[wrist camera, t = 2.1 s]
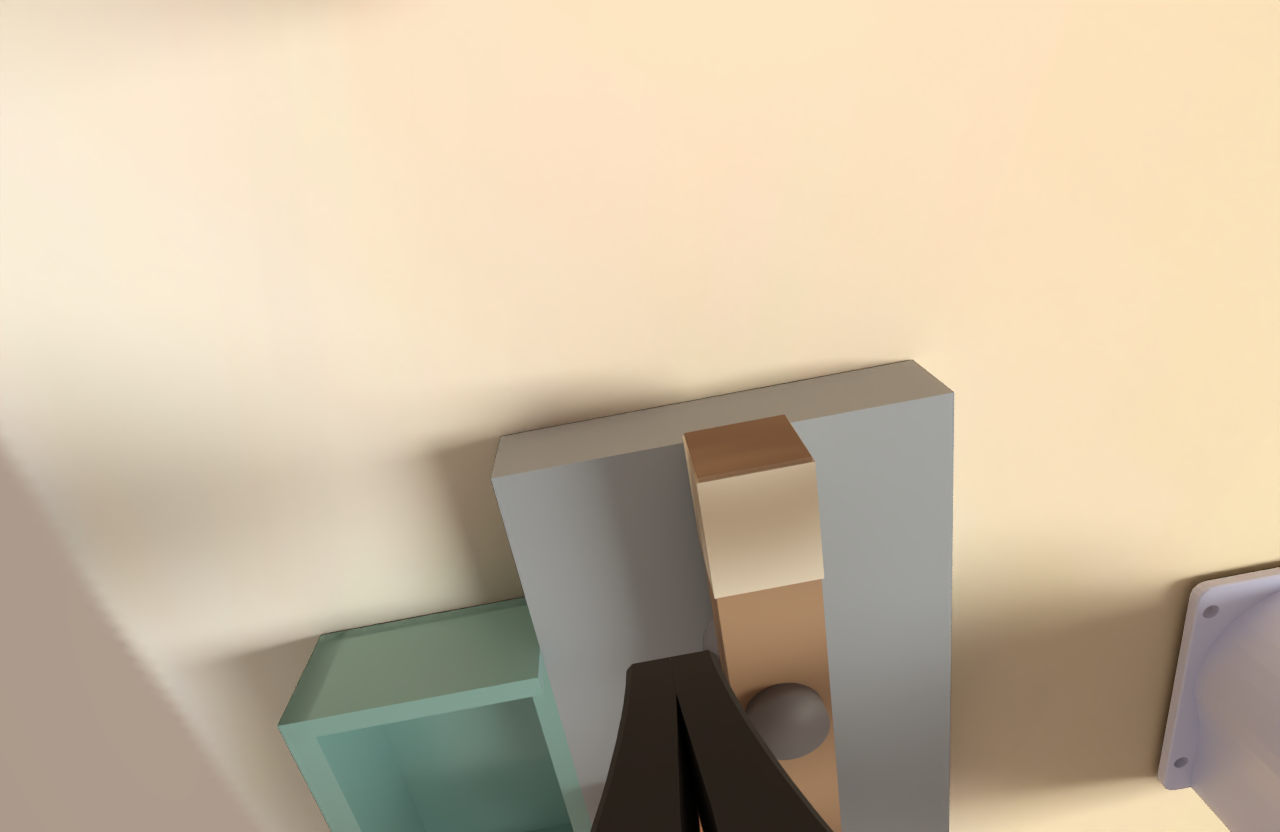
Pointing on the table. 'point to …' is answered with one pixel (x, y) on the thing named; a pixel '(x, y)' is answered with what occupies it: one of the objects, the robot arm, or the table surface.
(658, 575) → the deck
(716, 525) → the lever
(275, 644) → the table surface
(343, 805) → the teal dish
